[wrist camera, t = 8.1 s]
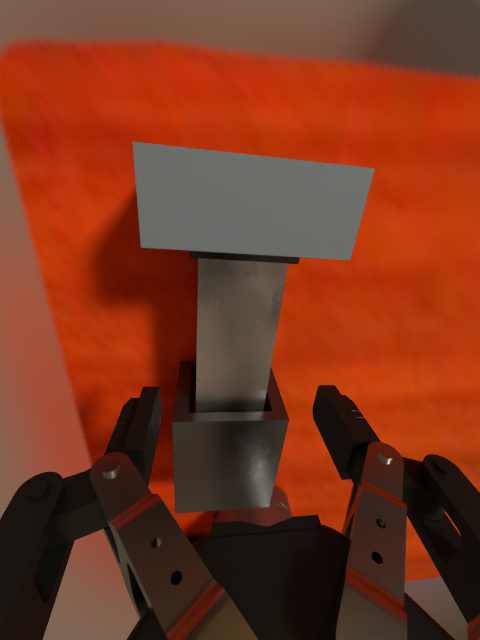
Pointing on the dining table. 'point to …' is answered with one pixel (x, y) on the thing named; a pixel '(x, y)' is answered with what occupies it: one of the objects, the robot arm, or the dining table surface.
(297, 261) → the light grey square bar
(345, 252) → the grey block
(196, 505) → the sleeve
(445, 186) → the dining table surface
